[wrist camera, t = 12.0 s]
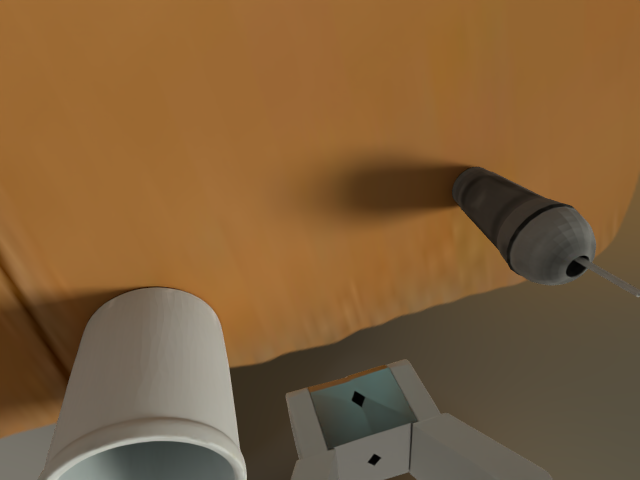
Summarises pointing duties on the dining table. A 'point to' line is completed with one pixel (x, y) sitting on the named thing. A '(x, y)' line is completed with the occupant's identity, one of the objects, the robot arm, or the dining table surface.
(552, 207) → the beverage cup
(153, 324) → the utensil holder
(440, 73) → the dining table surface
